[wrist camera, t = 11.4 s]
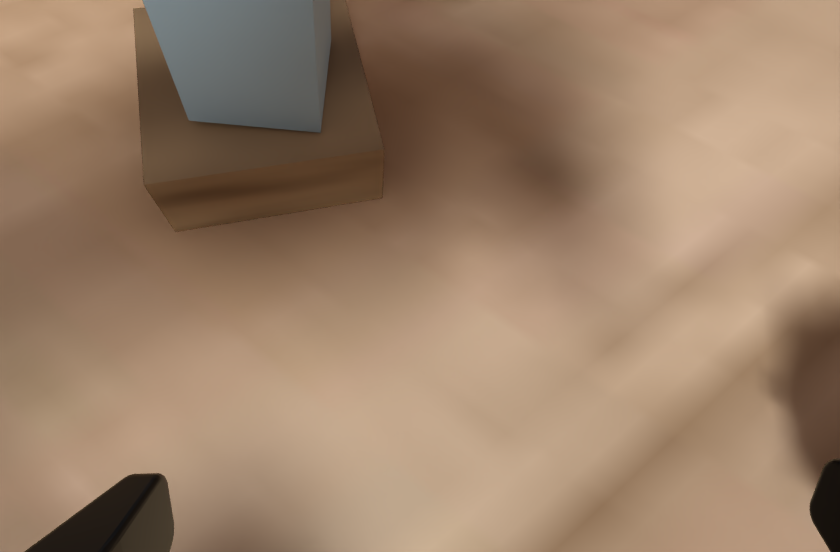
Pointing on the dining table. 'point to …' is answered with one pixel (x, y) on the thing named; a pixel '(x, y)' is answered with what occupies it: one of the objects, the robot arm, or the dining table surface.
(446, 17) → the dining table surface
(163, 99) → the walnut block
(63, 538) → the robot arm
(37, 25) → the dining table surface
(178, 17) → the blue block
